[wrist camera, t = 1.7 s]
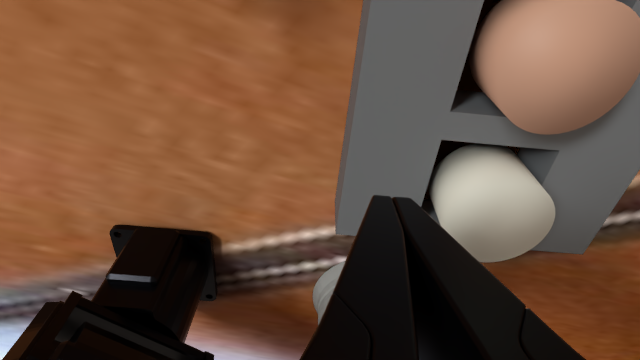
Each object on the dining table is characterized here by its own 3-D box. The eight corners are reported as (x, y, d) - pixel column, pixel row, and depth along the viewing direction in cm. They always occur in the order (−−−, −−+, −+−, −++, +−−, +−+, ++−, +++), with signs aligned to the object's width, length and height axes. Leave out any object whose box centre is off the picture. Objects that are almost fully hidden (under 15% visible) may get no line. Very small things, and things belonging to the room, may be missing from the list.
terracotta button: (557, 105, 17) (601, 139, 15) (455, 95, 17) (479, 128, 14) (611, -10, 15) (678, 5, 12) (491, -23, 15) (529, -10, 12)
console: (556, 220, 24) (582, 254, 21) (335, 201, 23) (335, 234, 21) (844, -285, 12) (979, -340, 10) (411, -342, 12) (434, -415, 9)
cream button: (503, 221, 21) (529, 266, 19) (419, 214, 21) (433, 258, 18) (538, 147, 19) (575, 186, 16) (442, 138, 19) (462, 176, 16)
